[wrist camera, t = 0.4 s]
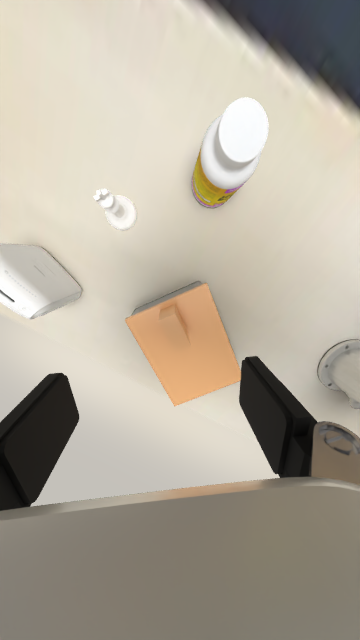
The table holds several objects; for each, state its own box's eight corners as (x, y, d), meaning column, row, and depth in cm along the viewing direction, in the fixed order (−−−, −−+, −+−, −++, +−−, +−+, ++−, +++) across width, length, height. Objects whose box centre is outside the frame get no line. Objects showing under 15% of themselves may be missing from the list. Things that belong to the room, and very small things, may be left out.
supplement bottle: (209, 218, 30) (236, 191, 18) (182, 182, 28) (192, 127, 16) (241, 186, 29) (292, 135, 17) (215, 147, 27) (251, 58, 15)
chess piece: (142, 220, 30) (130, 202, 20) (118, 236, 30) (94, 226, 21) (125, 189, 28) (103, 154, 19) (99, 206, 29) (65, 181, 19)
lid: (239, 372, 34) (256, 400, 28) (174, 398, 36) (175, 430, 29) (204, 281, 29) (215, 289, 22) (127, 316, 30) (115, 333, 23)
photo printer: (87, 291, 33) (43, 309, 21) (71, 305, 34) (19, 330, 22) (41, 242, 30) (-41, 232, 18) (24, 258, 31) (-66, 259, 19)
